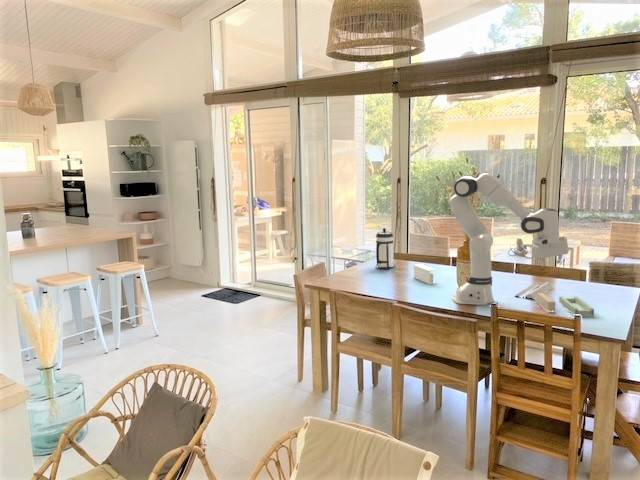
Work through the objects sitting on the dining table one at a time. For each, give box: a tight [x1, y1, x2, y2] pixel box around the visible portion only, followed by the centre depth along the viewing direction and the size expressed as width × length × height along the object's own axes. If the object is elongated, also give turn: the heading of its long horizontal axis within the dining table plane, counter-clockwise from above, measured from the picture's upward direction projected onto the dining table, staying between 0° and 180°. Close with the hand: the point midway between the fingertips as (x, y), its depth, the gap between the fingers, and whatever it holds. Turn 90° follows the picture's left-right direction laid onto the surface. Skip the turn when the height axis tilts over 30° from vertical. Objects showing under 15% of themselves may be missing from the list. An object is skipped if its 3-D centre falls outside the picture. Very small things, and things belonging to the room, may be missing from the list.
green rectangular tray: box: [558, 295, 595, 318], centre depth 254 cm, size 9×22×4 cm, turn 173°
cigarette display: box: [413, 263, 437, 285], centre depth 324 cm, size 20×6×9 cm, turn 19°
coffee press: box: [375, 228, 396, 271], centre depth 361 cm, size 17×16×30 cm
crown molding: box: [514, 281, 554, 300], centre depth 287 cm, size 31×12×4 cm, turn 137°
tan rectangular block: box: [536, 293, 556, 312], centre depth 258 cm, size 4×16×6 cm, turn 175°
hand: (550, 264), depth 256 cm, fingers open, 8 cm apart
